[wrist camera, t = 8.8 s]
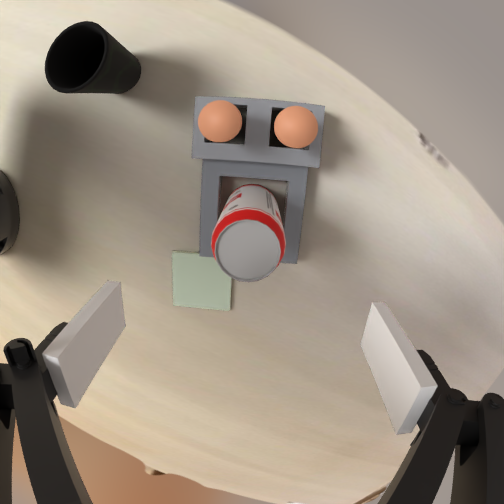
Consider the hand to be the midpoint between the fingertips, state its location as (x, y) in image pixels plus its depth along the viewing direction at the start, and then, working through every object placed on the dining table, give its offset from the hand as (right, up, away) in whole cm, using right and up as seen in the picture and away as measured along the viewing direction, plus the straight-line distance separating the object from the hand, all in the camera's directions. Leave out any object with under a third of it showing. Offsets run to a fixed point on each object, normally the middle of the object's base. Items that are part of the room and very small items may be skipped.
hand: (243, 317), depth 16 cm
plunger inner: (-2, +18, +19) cm, 26 cm away
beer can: (0, +9, +24) cm, 26 cm away
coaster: (-6, -1, +27) cm, 28 cm away
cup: (-16, +26, +18) cm, 36 cm away
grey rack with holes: (+1, +12, +23) cm, 26 cm away
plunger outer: (+5, +17, +19) cm, 26 cm away
